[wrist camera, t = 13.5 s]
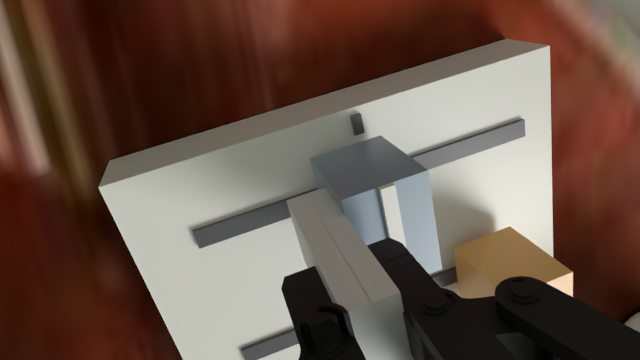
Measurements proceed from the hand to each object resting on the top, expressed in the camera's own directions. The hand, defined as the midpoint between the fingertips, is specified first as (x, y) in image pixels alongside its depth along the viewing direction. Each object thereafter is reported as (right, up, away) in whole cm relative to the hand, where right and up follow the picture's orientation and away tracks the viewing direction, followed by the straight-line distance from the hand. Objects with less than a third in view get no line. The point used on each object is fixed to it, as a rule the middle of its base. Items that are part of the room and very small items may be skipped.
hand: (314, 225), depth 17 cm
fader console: (+2, 0, +7) cm, 7 cm away
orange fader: (+8, -3, +5) cm, 10 cm away
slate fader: (+2, +1, +2) cm, 3 cm away
